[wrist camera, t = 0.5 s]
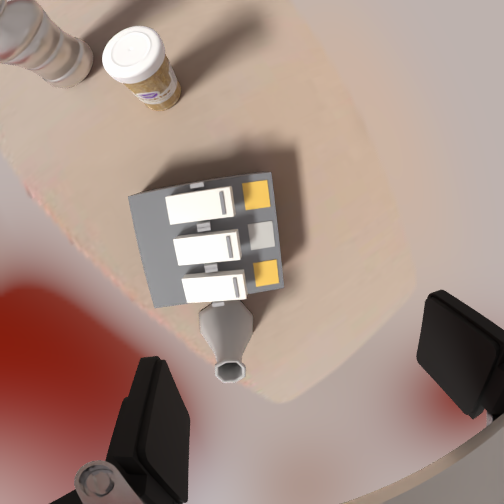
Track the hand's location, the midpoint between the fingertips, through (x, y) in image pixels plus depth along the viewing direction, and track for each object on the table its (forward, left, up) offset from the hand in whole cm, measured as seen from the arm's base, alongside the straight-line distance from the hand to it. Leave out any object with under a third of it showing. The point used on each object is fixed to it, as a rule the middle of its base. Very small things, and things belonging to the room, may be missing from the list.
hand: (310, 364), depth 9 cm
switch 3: (+5, -4, -19) cm, 20 cm away
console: (+1, -4, -25) cm, 25 cm away
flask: (+13, -4, -25) cm, 29 cm away
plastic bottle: (-23, -18, -25) cm, 39 cm away
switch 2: (+1, -4, -19) cm, 19 cm away
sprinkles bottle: (-16, -7, -25) cm, 31 cm away
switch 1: (-3, -4, -19) cm, 20 cm away
